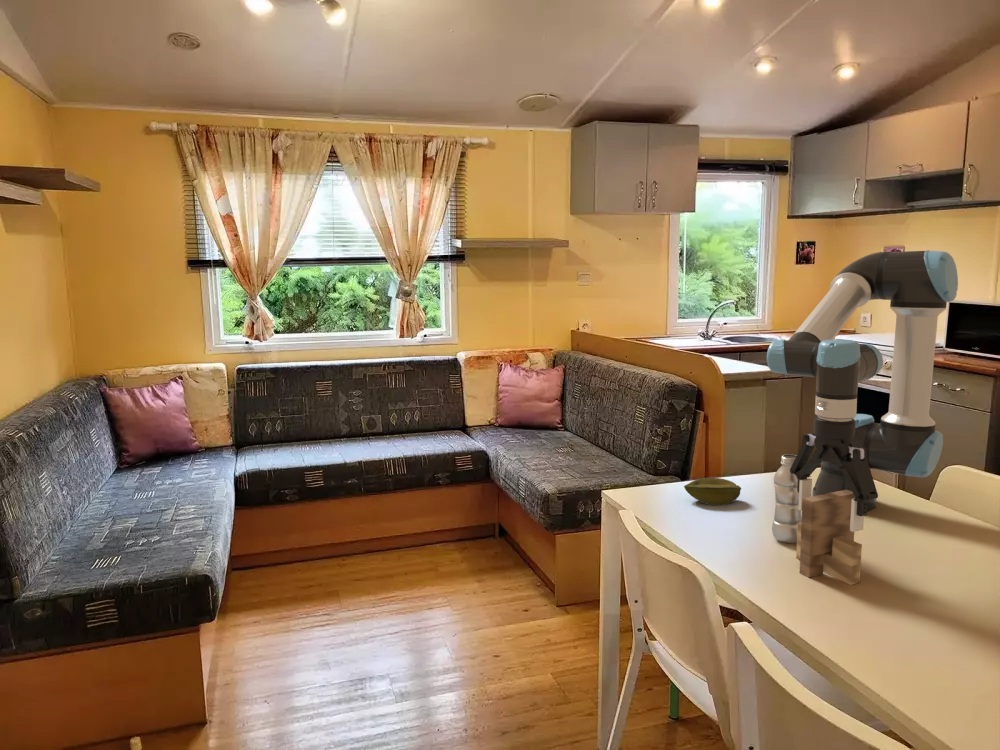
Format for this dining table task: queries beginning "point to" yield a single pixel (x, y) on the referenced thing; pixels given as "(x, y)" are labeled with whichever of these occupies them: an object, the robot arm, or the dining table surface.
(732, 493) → the fruit
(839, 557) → the oak slot board
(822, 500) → the wooden flat notched block
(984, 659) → the dining table surface
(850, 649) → the dining table surface
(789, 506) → the plastic bottle
